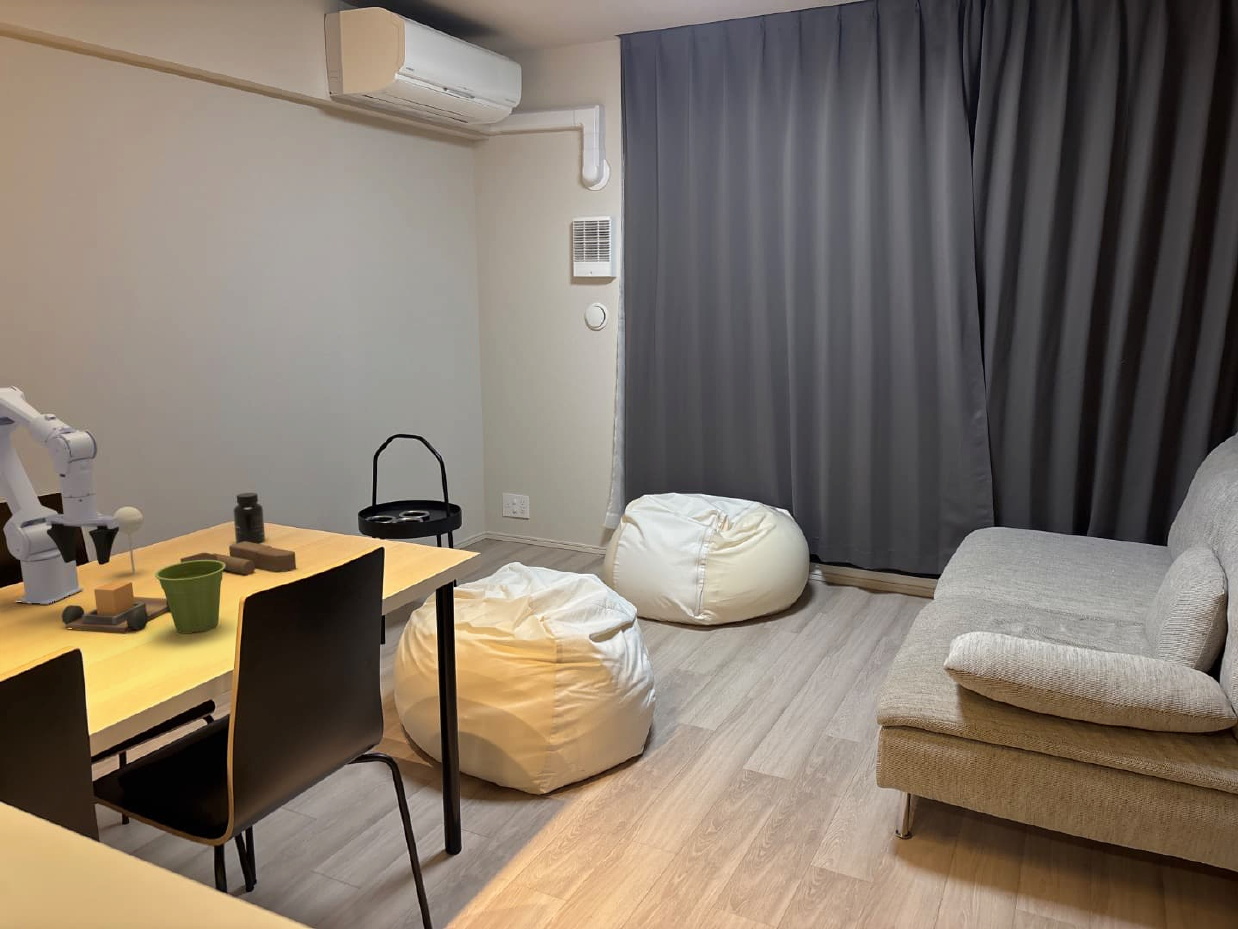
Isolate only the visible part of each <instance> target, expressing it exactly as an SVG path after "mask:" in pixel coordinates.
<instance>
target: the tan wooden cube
mask: <svg viewBox="0 0 1238 929" xmlns="http://www.w3.org/2000/svg"><path fill="white" fill-rule="evenodd" d="M133 587H134V586H133V582H132V581H119V580H113V581H110V582H108V583H106V584H104V585H100V586H99V587H96V588H94V597H95V598H94V599H95V600H94V601H95V608H96V609H97V615H107V616H116V615H118V614H120V613H122V612H124V611H126V610H128V609H130V608H132V607H135V605H134V597H135V596H134V588H133Z"/></svg>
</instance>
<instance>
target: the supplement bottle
mask: <svg viewBox="0 0 1238 929" xmlns="http://www.w3.org/2000/svg"><path fill="white" fill-rule="evenodd" d="M258 498H259V496H258V493H257V492H256V493H255V492H243V493H238V494H237V495H236V503H237V505H235V506H234V508H233V512H232V513H233V522H234V523H233V524H234V534H235V536H234V537H235V543H236V544H237V543H240V542H244V541H246V542H251V543H256V544H261V543H263V542H264V541H265V539H266V533H265V520H264V509H263V506H262V505H261V504H260V503H258V502H259V499H258Z"/></svg>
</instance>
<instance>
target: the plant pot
mask: <svg viewBox="0 0 1238 929" xmlns="http://www.w3.org/2000/svg"><path fill="white" fill-rule="evenodd" d="M225 567H226V565H225V563H223V562H221V561H216V560H196V561H188V562H182V563H181V562H177V563H173V564H170V565H168V566H165V567H163V568H160V569H158V570H157V571H156V572H155V574H154V576H155V578H156V579H158V581H159V584H160V586H161V589H162V591H163V592H164V596H165V599H167V602H168V605H169V608H170V610H169V611H170V616H171V618H172V621H173V625H174V627H175V630H176V631H177V632H179V633H182V634H183V633H184V634H192V633H194V632H199V633H200V632H203V633H204V632H207V631H208V630H211V629H214V628H215V627H216V626H217V625H218V624H219V620H220V606H221V605H220V603H221V602H220V601H221V588H222V580H223V575H224V574H223V573H224V572H223V571H225V570H224V569H225Z"/></svg>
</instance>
